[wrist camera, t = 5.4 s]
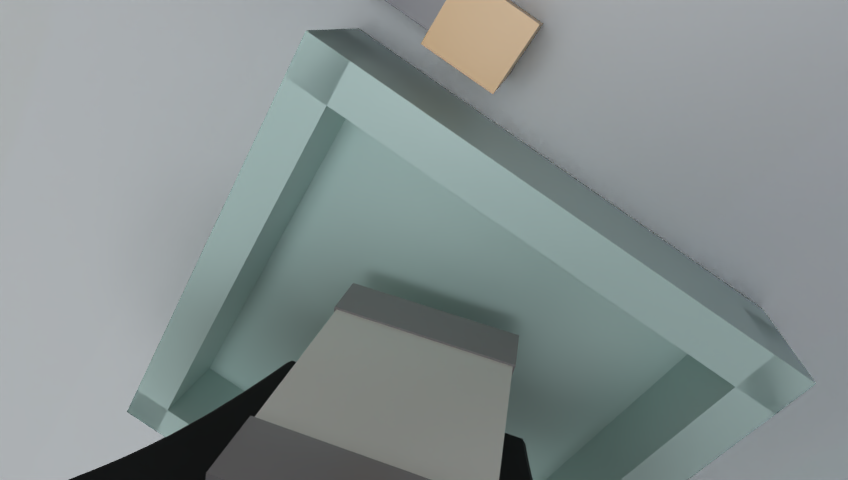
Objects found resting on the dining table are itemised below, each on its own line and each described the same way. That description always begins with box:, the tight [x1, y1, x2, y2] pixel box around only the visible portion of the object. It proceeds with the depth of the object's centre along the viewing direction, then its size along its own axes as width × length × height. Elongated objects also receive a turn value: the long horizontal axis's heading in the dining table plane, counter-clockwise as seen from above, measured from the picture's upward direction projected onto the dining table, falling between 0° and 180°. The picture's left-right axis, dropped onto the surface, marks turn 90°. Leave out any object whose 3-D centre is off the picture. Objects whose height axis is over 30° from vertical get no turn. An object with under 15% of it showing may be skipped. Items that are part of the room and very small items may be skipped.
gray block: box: [206, 283, 519, 480], centre depth 11 cm, size 4×4×6 cm
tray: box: [127, 29, 816, 480], centre depth 14 cm, size 12×12×3 cm
